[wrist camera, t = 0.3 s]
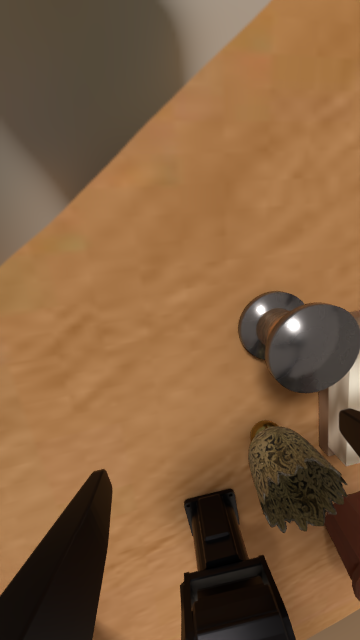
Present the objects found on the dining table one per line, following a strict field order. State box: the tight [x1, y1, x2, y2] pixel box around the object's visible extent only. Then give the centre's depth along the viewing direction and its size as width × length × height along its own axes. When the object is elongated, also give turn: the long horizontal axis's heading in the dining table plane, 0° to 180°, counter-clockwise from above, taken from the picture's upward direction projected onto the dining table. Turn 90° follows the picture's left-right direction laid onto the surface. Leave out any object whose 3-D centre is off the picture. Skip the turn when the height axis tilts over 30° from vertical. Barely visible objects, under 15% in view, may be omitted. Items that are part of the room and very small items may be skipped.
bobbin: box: [238, 291, 360, 393], centre depth 19 cm, size 7×7×6 cm
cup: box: [248, 420, 347, 533], centre depth 22 cm, size 8×7×8 cm
